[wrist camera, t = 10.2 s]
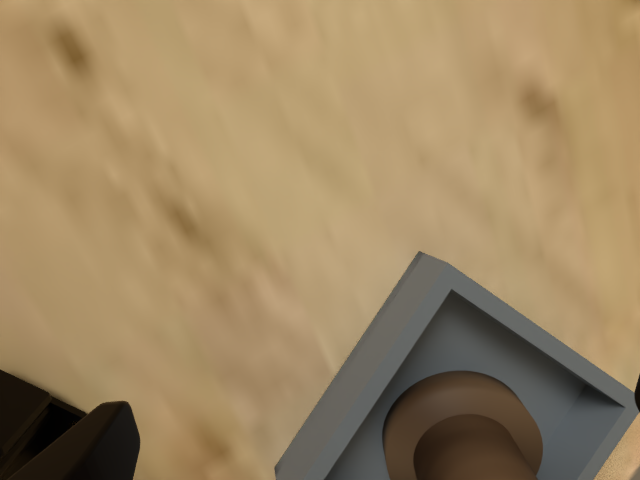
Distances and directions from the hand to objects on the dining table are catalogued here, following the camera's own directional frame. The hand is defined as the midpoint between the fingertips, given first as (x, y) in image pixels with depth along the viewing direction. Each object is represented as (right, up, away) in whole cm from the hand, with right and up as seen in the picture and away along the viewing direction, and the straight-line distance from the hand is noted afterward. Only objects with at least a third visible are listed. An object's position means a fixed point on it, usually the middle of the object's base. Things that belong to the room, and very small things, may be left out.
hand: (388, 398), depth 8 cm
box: (+5, -6, +15) cm, 17 cm away
